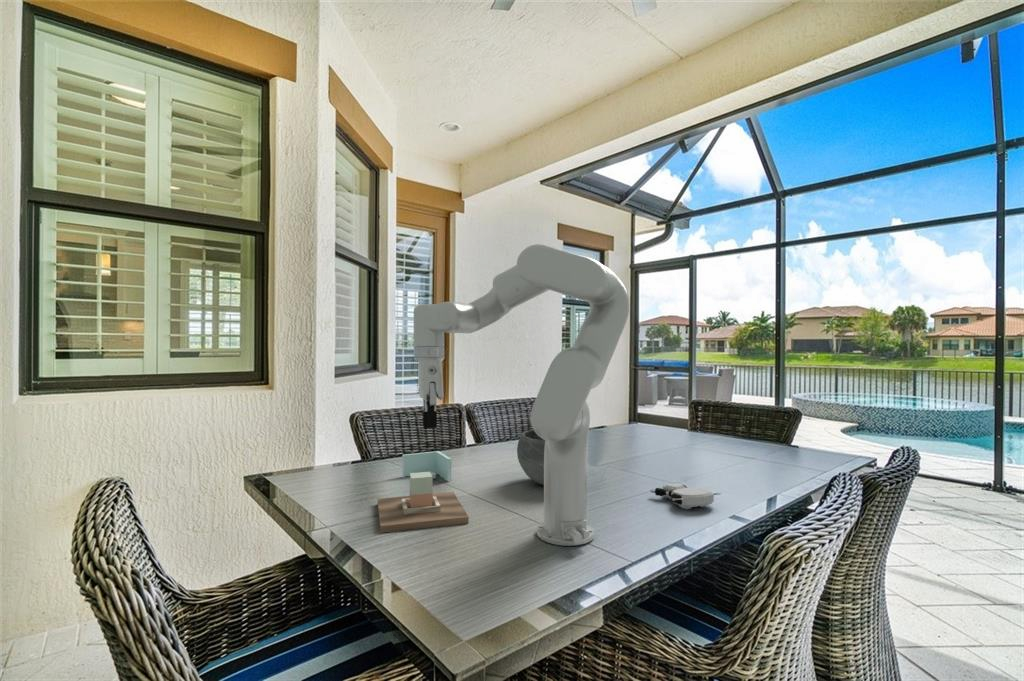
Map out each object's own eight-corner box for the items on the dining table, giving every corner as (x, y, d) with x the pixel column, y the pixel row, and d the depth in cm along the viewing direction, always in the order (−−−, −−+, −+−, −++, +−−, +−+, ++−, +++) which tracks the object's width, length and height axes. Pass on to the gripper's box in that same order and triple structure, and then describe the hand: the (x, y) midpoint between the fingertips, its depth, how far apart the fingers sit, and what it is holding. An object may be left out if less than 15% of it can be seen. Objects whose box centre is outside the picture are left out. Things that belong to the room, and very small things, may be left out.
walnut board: (468, 523, 113) (468, 511, 113) (380, 532, 107) (380, 520, 107) (453, 497, 132) (453, 487, 132) (377, 504, 126) (377, 494, 126)
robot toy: (647, 501, 133) (685, 514, 119) (646, 484, 133) (684, 496, 119) (683, 496, 137) (723, 509, 123) (682, 480, 138) (722, 490, 124)
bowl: (585, 496, 134) (585, 442, 134) (510, 491, 138) (510, 438, 138) (588, 476, 154) (588, 429, 154) (523, 472, 158) (523, 426, 159)
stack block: (432, 509, 118) (432, 476, 118) (411, 511, 117) (411, 478, 117) (429, 503, 123) (429, 471, 123) (409, 505, 121) (409, 473, 121)
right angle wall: (402, 478, 153) (402, 454, 153) (438, 473, 158) (438, 451, 159) (412, 488, 142) (412, 463, 142) (451, 483, 148) (451, 458, 148)
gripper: (449, 353, 114) (450, 431, 114) (439, 353, 129) (440, 422, 128) (417, 354, 112) (418, 433, 112) (410, 354, 126) (411, 424, 126)
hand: (429, 427), depth 120 cm, fingers closed
